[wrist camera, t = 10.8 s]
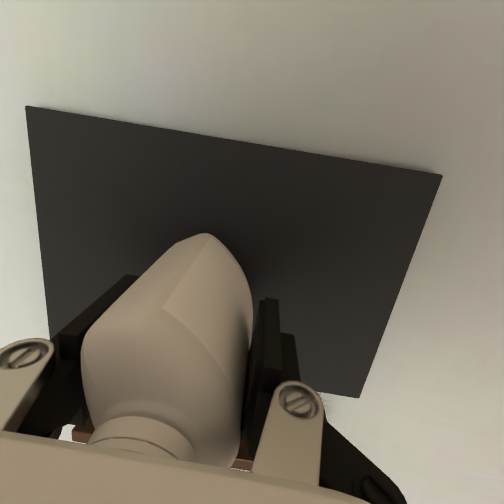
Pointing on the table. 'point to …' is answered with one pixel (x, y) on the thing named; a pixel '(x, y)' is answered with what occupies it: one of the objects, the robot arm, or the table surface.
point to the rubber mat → (230, 227)
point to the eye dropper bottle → (173, 358)
